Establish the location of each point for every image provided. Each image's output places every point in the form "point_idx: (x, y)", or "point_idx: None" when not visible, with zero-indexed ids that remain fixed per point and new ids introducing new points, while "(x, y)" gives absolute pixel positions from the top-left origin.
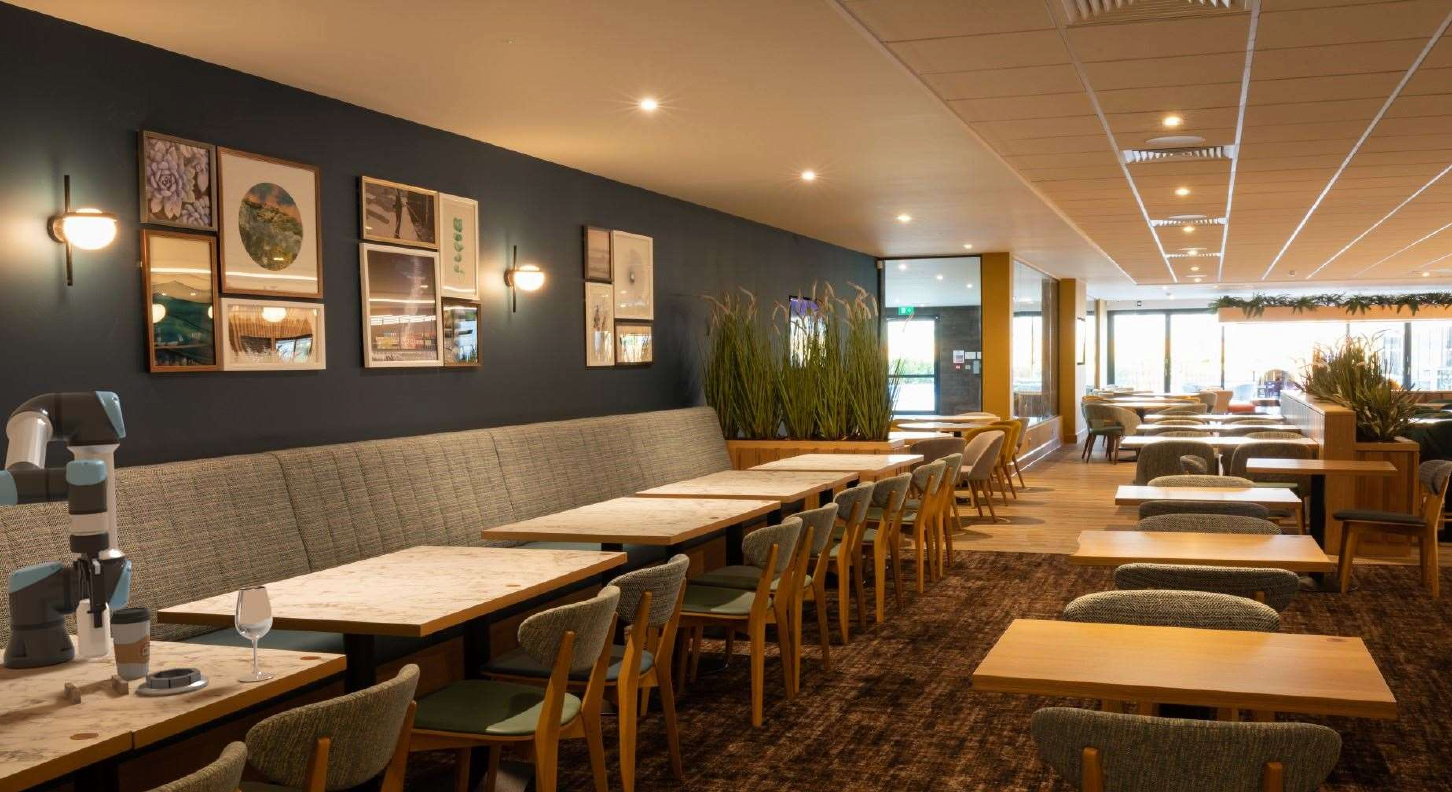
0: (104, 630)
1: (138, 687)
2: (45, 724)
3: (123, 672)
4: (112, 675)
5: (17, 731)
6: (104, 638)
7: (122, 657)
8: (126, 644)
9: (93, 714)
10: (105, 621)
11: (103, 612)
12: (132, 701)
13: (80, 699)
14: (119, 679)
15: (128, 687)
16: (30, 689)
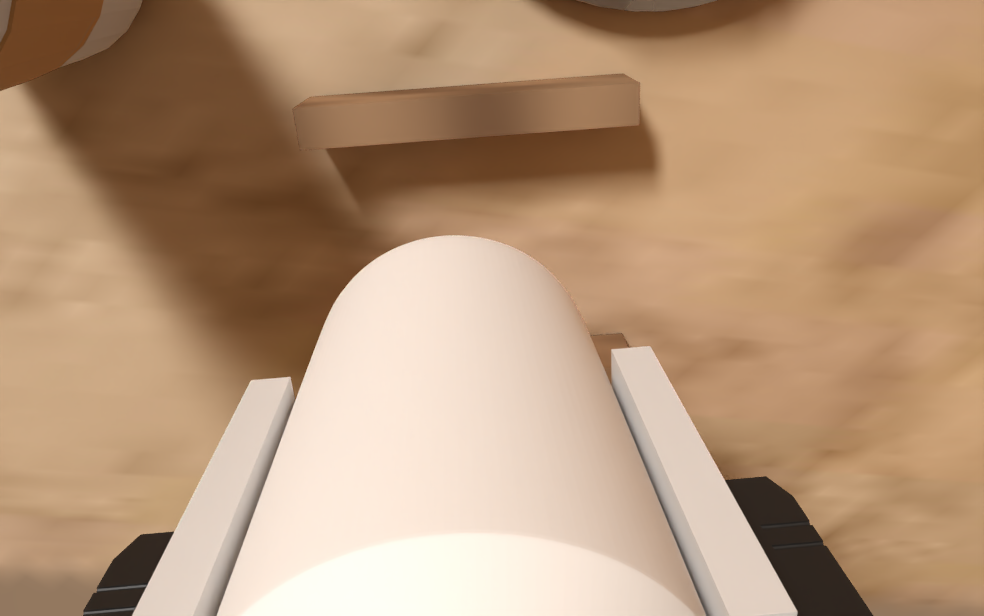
0: (683, 416)
1: (616, 6)
2: (927, 499)
3: (112, 33)
4: (302, 142)
5: (940, 588)
6: (658, 369)
7: (62, 46)
8: (15, 12)
9: (944, 310)
10: (625, 454)
11: (784, 600)
12: (835, 85)
13: (626, 344)
14: (479, 120)
15: (632, 79)
16: (83, 502)
